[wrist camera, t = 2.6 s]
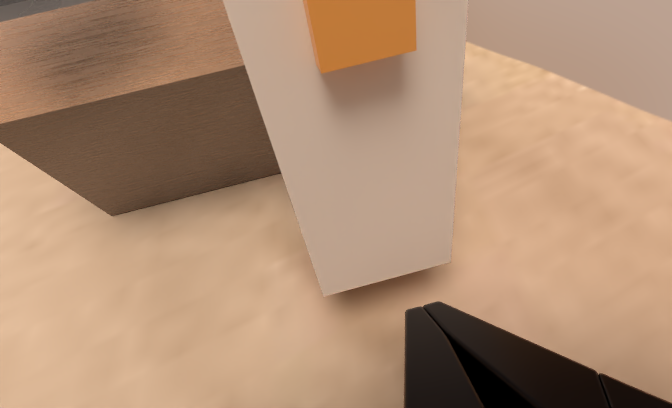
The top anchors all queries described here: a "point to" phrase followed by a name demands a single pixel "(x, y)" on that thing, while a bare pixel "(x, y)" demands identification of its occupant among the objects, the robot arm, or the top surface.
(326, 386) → the top surface
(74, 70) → the rail board
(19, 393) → the top surface
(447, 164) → the block
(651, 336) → the top surface
